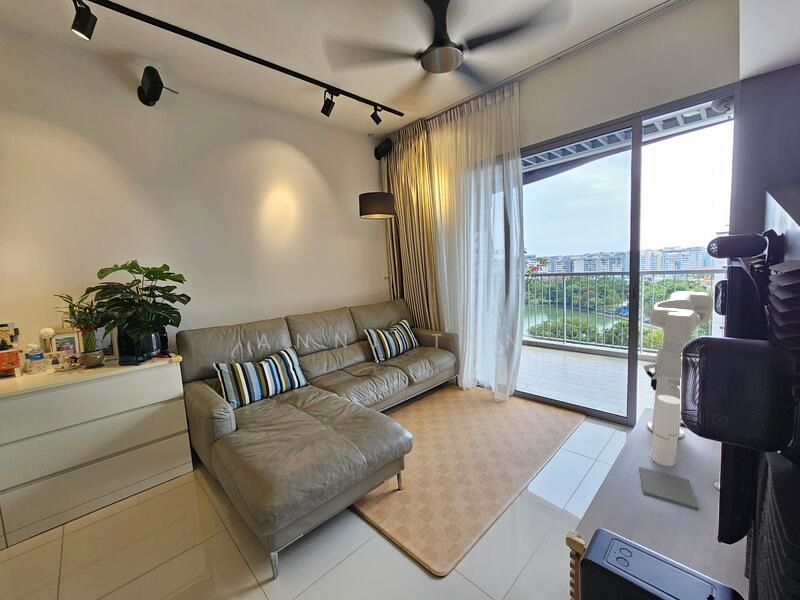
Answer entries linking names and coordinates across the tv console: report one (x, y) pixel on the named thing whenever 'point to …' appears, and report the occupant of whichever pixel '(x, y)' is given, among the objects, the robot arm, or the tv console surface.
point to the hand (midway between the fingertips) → (670, 391)
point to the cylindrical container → (666, 430)
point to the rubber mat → (668, 487)
